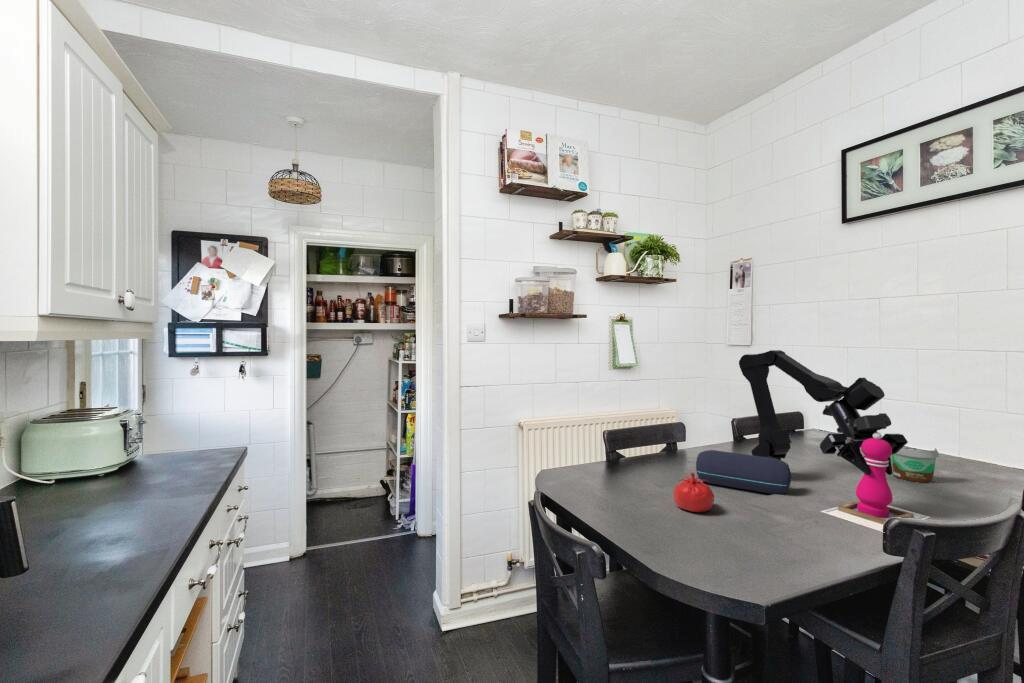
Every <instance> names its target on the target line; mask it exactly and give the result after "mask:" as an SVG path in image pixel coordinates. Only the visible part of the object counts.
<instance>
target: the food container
mask: <svg viewBox="0 0 1024 683" xmlns="http://www.w3.org/2000/svg"><path fill="white" fill-rule="evenodd" d="M939 457H940V454H939V452H938V448H936V447H935V448H934V450H928V449H927V450H926V449H920V448H915V447H913V448H911V447H910V448H909V447H908V448H907V447H906V448H904V447H903V448H901V449H900V450H899V451H898V452H897V453H895V454H891V464H892V472H893V477H894V478H895V477H896V478H895V479H899V480H901V479H902V480H901V481H904V480H906V481H905V482H909V481H910V483H915V482H919V483H918V484H930V483H929V482H931V483H933V480H934V473H935V467H936V466H935V465H936V460H937V458H939Z"/></svg>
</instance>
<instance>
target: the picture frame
mask: <svg viewBox="0 0 1024 683" xmlns="http://www.w3.org/2000/svg"><path fill="white" fill-rule="evenodd" d="M887 507H891V508H894V509H898V510H901V511H905V512H908V513H912V514H914V519H922V521H925V520H928V519H930V518H932V517H931V516H929V515H928V516H927V515H924V514H921V513H917V512H914V511H910V510H906V509H903V508H900V507H896V506H893V505H890V504H889V505H887ZM852 510H856V511H858V510H857V508H854V509H852ZM820 513H824V514H826V515H829V516H830V515H831V516H833V517H835V518H836V517H837V518H839V519H842V520H846V521H849V522H851V523H854V524H857V525H860V526H864V527H867V528H870V529H873V530H876V531H878V532H882V533H884V532H883V525H882V524H879V523H876V522H873V521H870V520H867V519H863V518H860V517H857V516H854V515H851V514H848V513H845V512H841V511H838V506H836V507H832V508H828V509H824V510H821V511H820ZM896 516H899V515H897V514H893V513H890V512H889V516H888V517H885V518H882V519H885V520H886V519H889V518H892V517H896ZM878 518H879V517H878Z"/></svg>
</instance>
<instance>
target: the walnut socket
mask: <svg viewBox="0 0 1024 683" xmlns="http://www.w3.org/2000/svg"><path fill="white" fill-rule="evenodd" d="M859 501H860V500H857V501H854V502H850V503H845V504H842V505H838V506H837V507H838V511H841V512H845V513H848V514H851V515H854V516H857V517H860V518H863V519H867V520H870V521H873V522H876V523H879V524H882V525H884V522H885V521H886V520H887V519H886V520H885V519H882V518H878V517H875V516H872V515H869V514H865V513H862V512H859V511H856V510H852V509H854V508H857V503H858V502H859ZM888 508H889V512H890V513H893V514H897V515H899V516H896V517H901V518H914V514H912V513H908V512H905V511H901V510H898V509H894V508H891V507H888ZM893 518H894V517H893Z"/></svg>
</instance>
